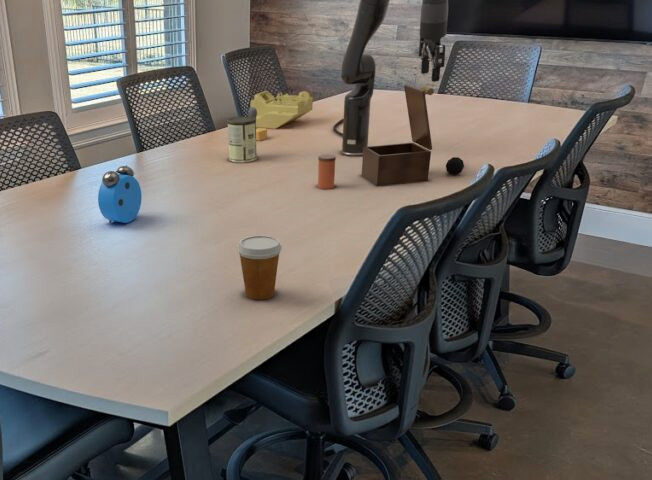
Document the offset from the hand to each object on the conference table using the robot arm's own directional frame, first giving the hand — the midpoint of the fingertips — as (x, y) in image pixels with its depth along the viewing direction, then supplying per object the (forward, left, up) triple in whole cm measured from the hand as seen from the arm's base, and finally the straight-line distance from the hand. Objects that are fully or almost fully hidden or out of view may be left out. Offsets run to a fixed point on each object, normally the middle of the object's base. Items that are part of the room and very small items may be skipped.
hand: (429, 77), depth 216 cm
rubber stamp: (-78, -36, -31) cm, 91 cm away
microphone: (-7, +17, -31) cm, 36 cm away
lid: (-4, -1, -12) cm, 13 cm away
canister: (-2, -31, -31) cm, 44 cm away
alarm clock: (+12, -97, -31) cm, 103 cm away
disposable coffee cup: (+73, -72, -31) cm, 107 cm away
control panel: (-101, -19, -31) cm, 107 cm away
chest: (-4, -7, -31) cm, 32 cm away
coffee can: (-46, -48, -31) cm, 73 cm away
